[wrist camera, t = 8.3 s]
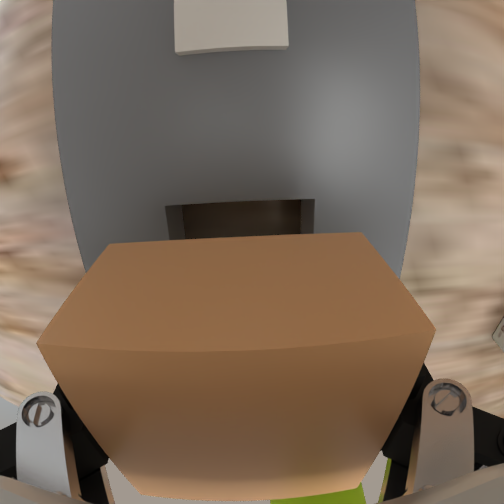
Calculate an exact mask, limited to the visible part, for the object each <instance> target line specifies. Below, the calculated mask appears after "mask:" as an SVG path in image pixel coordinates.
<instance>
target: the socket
mask: <svg viewBox="0 0 504 504" xmlns="http://www.w3.org/2000/svg"><path fill="white" fill-rule="evenodd" d="M52 82H53V98H54V111H55V121H56V130H57V138H58V146H59V153H60V160H61V166H62V172H63V178H64V184H65V189H66V194H67V199H68V204H69V209H70V213H71V218H72V222H73V226H74V230H75V235H76V239H77V242H78V246H79V250H80V254H81V257H82V261H83V265H84V268H85V271H86V273H87V271H88V270H89V269H90V267H91V266H92V265H93V264H94V262H95V261H96V260H97V258H98V257H99V256H100V255H101V253H102V252H103V251H104V250H105V249H106V247H107V246H108V245H109V244H114V243H131V242H148V241H166V240H185V239H186V238H185V230H184V222H183V214H182V205H185V204H200V203H218V202H237V201H260V200H290V199H301V230H300V234H320V233H348V232H362V234H363V235H364V236H365V237H366V238H367V240H368V241H369V242H370V243H371V244H372V246H373V247H374V248H375V249H376V251H377V252H378V253H379V254H380V255H381V257H382V258H383V259H384V260H385V262H386V263H387V264H388V265H389V267H390V268H391V269H392V271H393V272H394V273H395V274H396V276H397V277H398V278H399V280H400V275H401V270H402V265H403V260H404V254H405V249H406V243H407V237H408V231H409V225H410V218H411V211H412V204H413V196H414V187H415V178H416V167H417V155H418V140H419V119H420V61H419V41H418V28H417V16H416V7H415V0H53V15H52Z"/></svg>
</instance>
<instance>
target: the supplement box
mask: <svg viewBox="0 0 504 504" xmlns="http://www.w3.org/2000/svg"><path fill="white" fill-rule="evenodd" d="M492 338H493V339H494V341H495V342H496V343H497V344H498V346H499V347H500V348H501V350H502V351H503V352H504V317H503V319H502V321H501V322H500V324H499V326H498V327H497V329H496V331H495V332H494V334H493V336H492Z"/></svg>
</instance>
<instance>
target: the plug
mask: <svg viewBox="0 0 504 504" xmlns="http://www.w3.org/2000/svg"><path fill="white" fill-rule="evenodd" d="M435 331H436V328H435V327H434V326H433V324H432V323H431V321H430V320H429V319H428V317H427V316H426V314H425V313H424V312H423V310H422V309H421V307H420V306H419V305H418V303H417V302H416V301H415V299H414V298H413V297H412V295H411V294H410V293H409V291H408V290H407V289H406V287H405V286H404V285H403V283H402V282H401V281H400V280H399V278H398V277H397V276H396V274H395V273H394V272H393V271H392V269H391V268H390V267H389V265H388V264H387V263H386V262H385V260H384V259H383V258H382V257H381V255H380V254H379V253H378V252H377V251H376V249H375V248H374V247H373V246H372V244H371V243H370V242H369V241H368V240H367V238H366V237H365V236H364V235H363V234H362V232H348V233H320V234H294V235H269V236H247V237H225V238H205V239H185V240H166V241H148V242H131V243H114V244H109V245H108V246H107V247H106V249H105V250H104V251H103V252H102V253H101V255H100V256H99V257H98V258H97V260H96V261H95V262H94V264H93V265H92V266H91V267H90V269H89V270H88V271H87V273H86V274H85V275H84V276H83V278H82V279H81V280H80V282H79V283H78V284H77V286H76V287H75V288H74V290H73V291H72V292H71V294H70V295H69V296H68V298H67V299H66V301H65V302H64V303H63V305H62V306H61V308H60V309H59V310H58V312H57V313H56V315H55V316H54V317H53V319H52V320H51V322H50V323H49V325H48V326H47V328H46V329H45V331H44V332H43V334H42V335H41V337H40V338H39V340H38V341H37V343H36V344H37V346H38V348H39V350H40V352H41V354H42V355H43V357H44V359H45V361H46V363H47V365H48V367H49V368H50V370H51V372H52V374H53V375H54V377H55V379H56V381H57V382H58V384H59V386H60V387H61V389H62V391H63V392H64V394H65V396H66V397H67V399H68V400H69V402H70V404H71V405H72V407H73V408H74V410H75V411H76V413H77V414H78V416H79V417H80V419H81V420H82V422H83V423H84V424H85V426H86V427H87V429H88V430H89V432H90V433H91V434H92V436H93V437H94V438H95V440H96V441H97V442H98V444H99V445H100V446H101V448H102V449H103V450H104V452H105V453H106V454H107V455H108V457H109V458H110V459H111V460H112V462H113V463H114V464H115V465H116V466H117V468H118V469H119V470H120V471H121V473H122V474H123V475H124V476H125V477H126V478H127V479H128V481H129V482H130V483H131V484H132V485H133V486H134V487H135V488H136V489H137V491H138V492H139V493H140V494H141V495H148V496H156V497H164V498H176V499H187V500H205V501H255V500H274V499H286V498H296V497H305V496H313V495H320V494H327V493H333V492H339V491H344V490H350V489H355V488H357V487H358V486H359V484H360V483H361V481H362V479H363V478H364V476H365V475H366V473H367V472H368V470H369V468H370V467H371V465H372V463H373V462H374V460H375V459H376V457H377V455H378V454H379V452H380V450H381V448H382V447H383V445H384V443H385V441H386V440H387V438H388V436H389V434H390V432H391V430H392V429H393V427H394V425H395V423H396V421H397V419H398V417H399V415H400V413H401V411H402V409H403V407H404V405H405V403H406V401H407V399H408V397H409V395H410V392H411V390H412V388H413V386H414V384H415V381H416V379H417V377H418V375H419V372H420V370H421V367H422V365H423V363H424V360H425V358H426V355H427V353H428V350H429V348H430V345H431V342H432V340H433V337H434V334H435Z"/></svg>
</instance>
